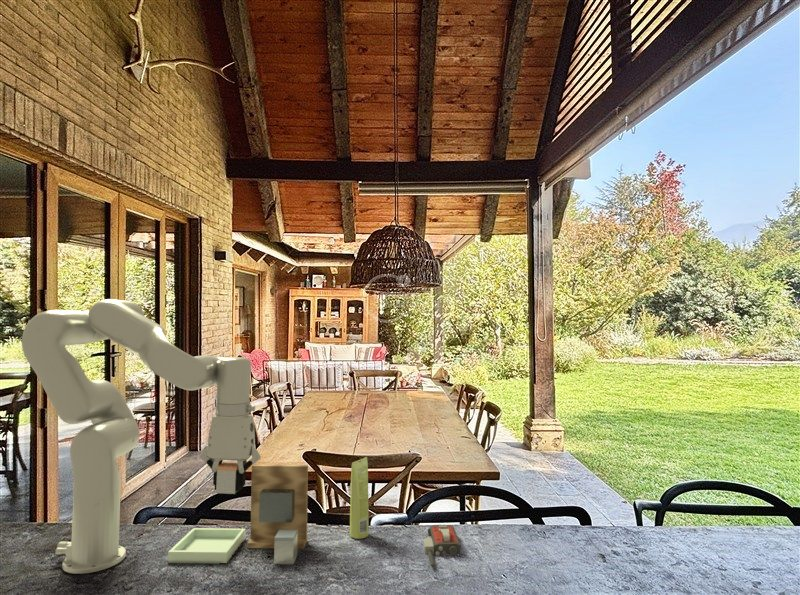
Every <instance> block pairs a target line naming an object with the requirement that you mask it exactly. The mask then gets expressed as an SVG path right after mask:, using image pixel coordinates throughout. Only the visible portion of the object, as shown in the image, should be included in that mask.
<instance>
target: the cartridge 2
mask: <svg viewBox="0 0 800 595" xmlns="http://www.w3.org/2000/svg"><path fill="white" fill-rule="evenodd" d="M297 540H298V530H279V531H278V533H277V534H276V536H275V537H274V548H273V549H274V550H273V564H274V565H294V563H295V561H296V560H297V557H298V549H297Z"/></svg>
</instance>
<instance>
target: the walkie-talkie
mask: <svg viewBox="0 0 800 595" xmlns="http://www.w3.org/2000/svg"><path fill="white" fill-rule="evenodd" d="M427 535H428V537H426V538H425V539H423V547H424V548H423V549H424V555H427V557H428V561H429V565H430V567H431V568H433V569H434V568H435V561H434V556H433V555H434V554H435V556H437V557H439V556H442V555H441V554H450V555H449V556H453V557H454V556H457V555H456V554H459V555H461V550H462V548H461V546H462V545H461V542H460V540H459V537H458V535H457V531H456V530H455V527H454V526H453V525H451V524H434V525H433V524H432V525H431V526H430V527H429V528H428V530H427Z"/></svg>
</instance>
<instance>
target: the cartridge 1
mask: <svg viewBox="0 0 800 595" xmlns="http://www.w3.org/2000/svg"><path fill="white" fill-rule="evenodd" d="M238 470H239V469H238V463H237V461H223V462H222V464H220V465H219V466H218V467H217V484H216V490H215V494H226V495H227V494H228V495H230V494H231V495H232V494H233V495H235V494H237V493H238V492H239V491H237V490H236V483H237V473H238Z"/></svg>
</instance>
